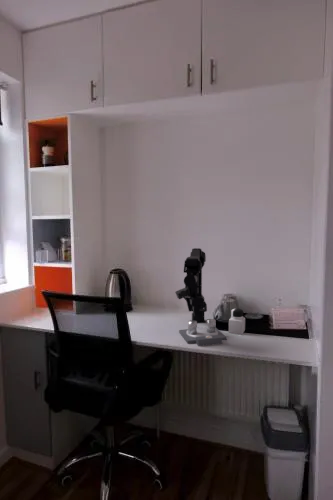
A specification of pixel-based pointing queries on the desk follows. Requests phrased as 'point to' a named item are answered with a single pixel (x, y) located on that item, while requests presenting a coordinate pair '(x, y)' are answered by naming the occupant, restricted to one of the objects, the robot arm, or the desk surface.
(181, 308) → the desk surface
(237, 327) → the medicine bottle
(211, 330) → the cylinder
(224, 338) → the scale
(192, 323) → the cylinder
